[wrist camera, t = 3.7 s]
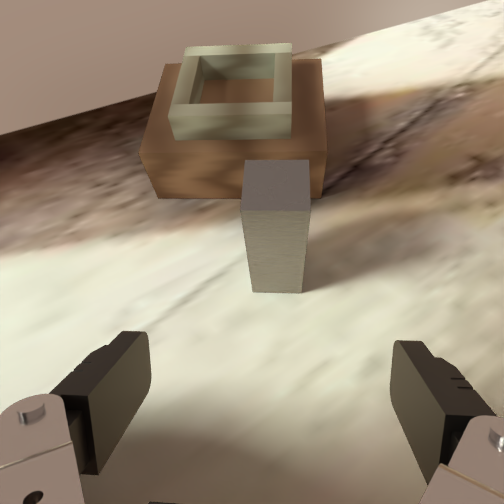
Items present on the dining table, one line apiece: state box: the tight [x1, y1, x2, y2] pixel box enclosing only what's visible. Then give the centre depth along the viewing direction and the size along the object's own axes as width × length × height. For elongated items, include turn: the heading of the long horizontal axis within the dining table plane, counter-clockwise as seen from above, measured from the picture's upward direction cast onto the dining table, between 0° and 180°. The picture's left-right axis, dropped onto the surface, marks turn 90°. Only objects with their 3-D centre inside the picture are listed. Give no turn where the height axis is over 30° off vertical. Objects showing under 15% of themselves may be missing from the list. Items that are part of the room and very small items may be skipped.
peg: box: [240, 160, 311, 293], centre depth 26 cm, size 4×4×11 cm
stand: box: [138, 43, 328, 198], centre depth 35 cm, size 16×13×8 cm
